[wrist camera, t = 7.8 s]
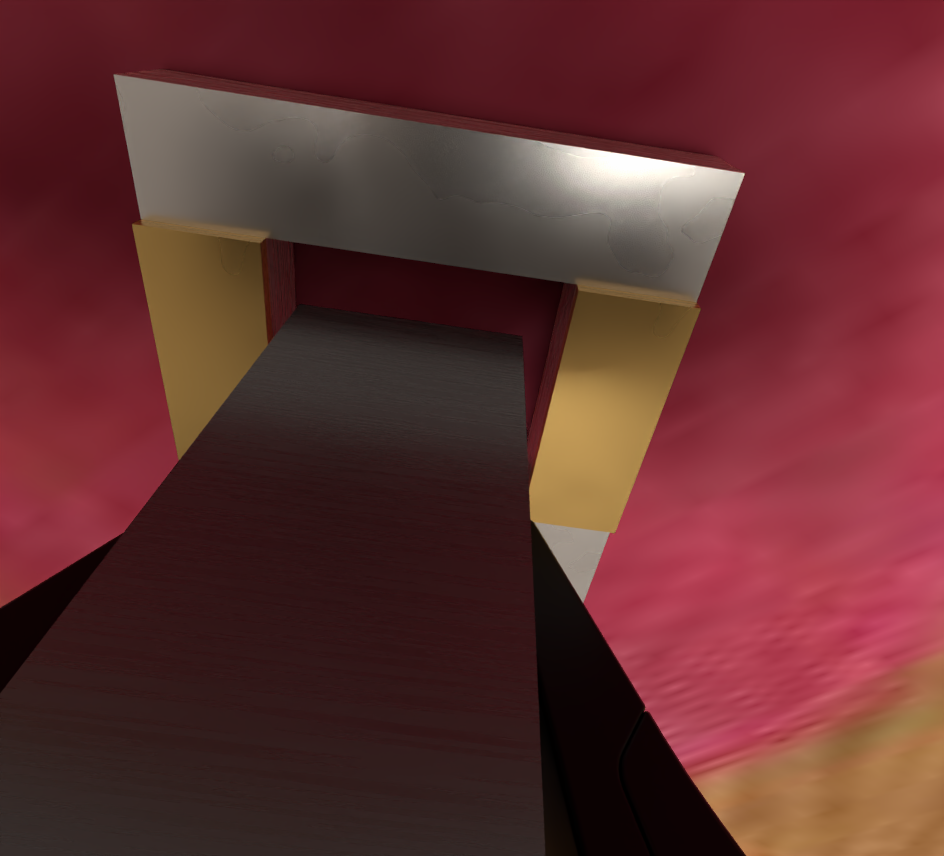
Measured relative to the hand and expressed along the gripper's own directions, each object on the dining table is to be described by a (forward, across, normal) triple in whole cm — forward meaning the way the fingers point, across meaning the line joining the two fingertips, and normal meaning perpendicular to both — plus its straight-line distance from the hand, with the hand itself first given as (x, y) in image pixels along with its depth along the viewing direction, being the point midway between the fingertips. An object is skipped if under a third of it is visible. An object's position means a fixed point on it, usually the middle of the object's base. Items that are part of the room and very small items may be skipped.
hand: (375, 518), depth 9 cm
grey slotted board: (+5, 0, +9) cm, 10 cm away
